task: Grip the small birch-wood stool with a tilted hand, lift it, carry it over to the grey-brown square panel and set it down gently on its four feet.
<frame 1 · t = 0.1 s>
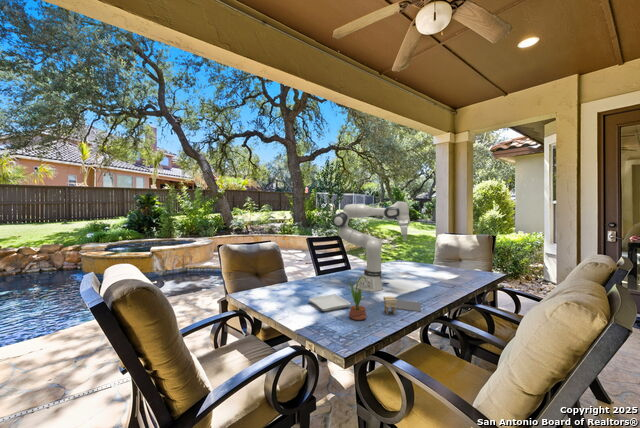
hand: (405, 240, 213), 39 cm above the table, tool pointing down, fingers open, 8 cm apart
salad plate: (329, 306, 183), on the table
grey-brown square panel: (407, 306, 183), on the table
potted flower: (359, 318, 163), on the table
birch stool: (389, 312, 171), on the table
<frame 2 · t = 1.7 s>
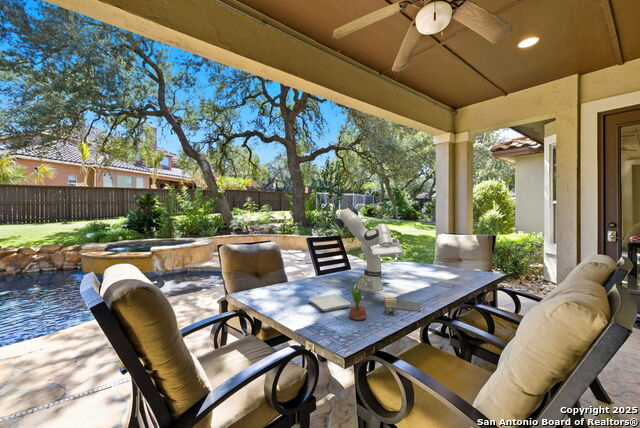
hand: (388, 261, 182), 29 cm above the table, tool tilted 45°, fingers open, 8 cm apart
nothing on the table moved.
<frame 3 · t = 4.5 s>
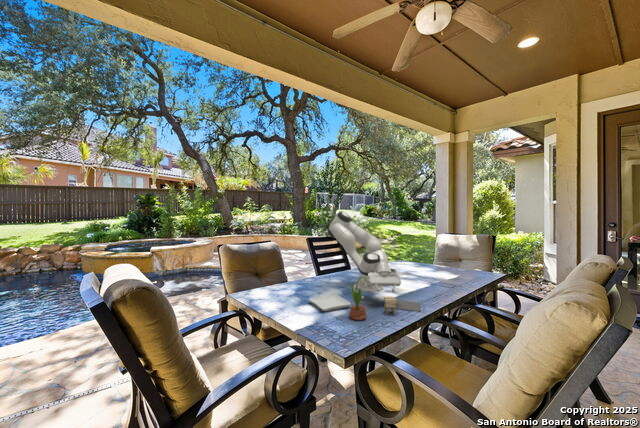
hand: (386, 291, 178), 11 cm above the table, tool tilted 45°, fingers open, 8 cm apart
nothing on the table moved.
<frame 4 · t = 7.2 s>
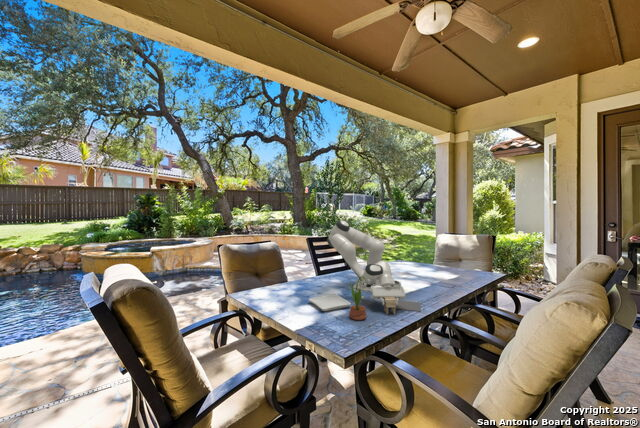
hand: (390, 305, 170), 5 cm above the table, tool tilted 45°, fingers closed on birch stool, 6 cm apart
birch stool: (389, 312, 171), on the table, touching gripper
everything else where it was.
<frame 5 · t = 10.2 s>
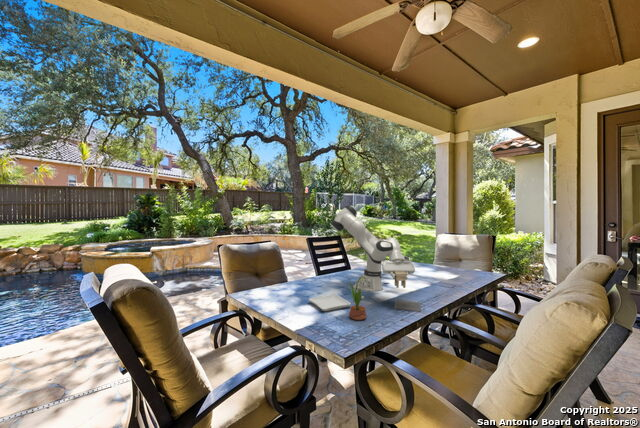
hand: (400, 278, 177), 19 cm above the table, tool tilted 45°, fingers closed on birch stool, 6 cm apart
birch stool: (399, 286, 177), point 14 cm above the table, touching gripper
everything else where it was.
when the fingers open (7 cm above the table, at t = 13.5 s): birch stool drops 1 cm, resting on grey-brown square panel.
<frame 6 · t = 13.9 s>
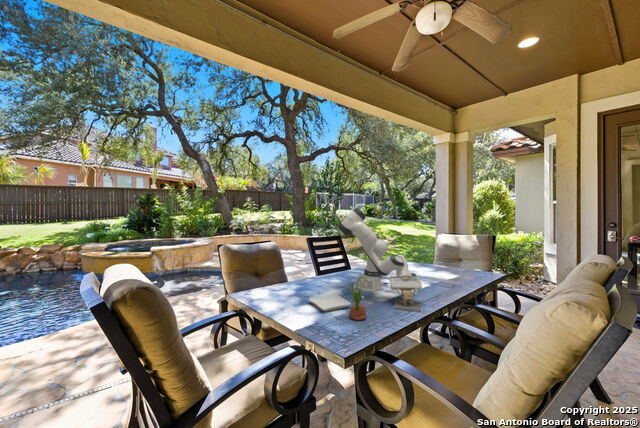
hand: (408, 295, 183), 7 cm above the table, tool tilted 45°, fingers open, 8 cm apart
birch stool: (407, 304, 184), point 1 cm above the table, touching grey-brown square panel
everything else where it was.
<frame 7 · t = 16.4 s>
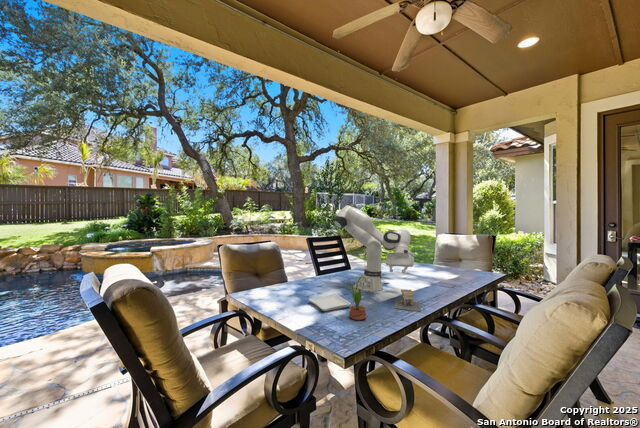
hand: (396, 272, 186), 21 cm above the table, tool tilted 30°, fingers open, 8 cm apart
nothing on the table moved.
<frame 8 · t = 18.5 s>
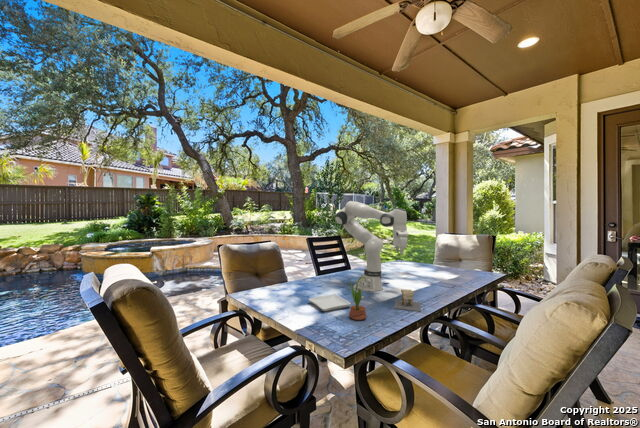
hand: (399, 253, 190), 33 cm above the table, tool pointing down, fingers open, 8 cm apart
nothing on the table moved.
at the end: birch stool inside the target area on the grey-brown square panel (0.9 cm from its centre), point 0.6 cm above the grey-brown square panel's base; birch stool tilted 0°; the gripper is holding nothing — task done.
